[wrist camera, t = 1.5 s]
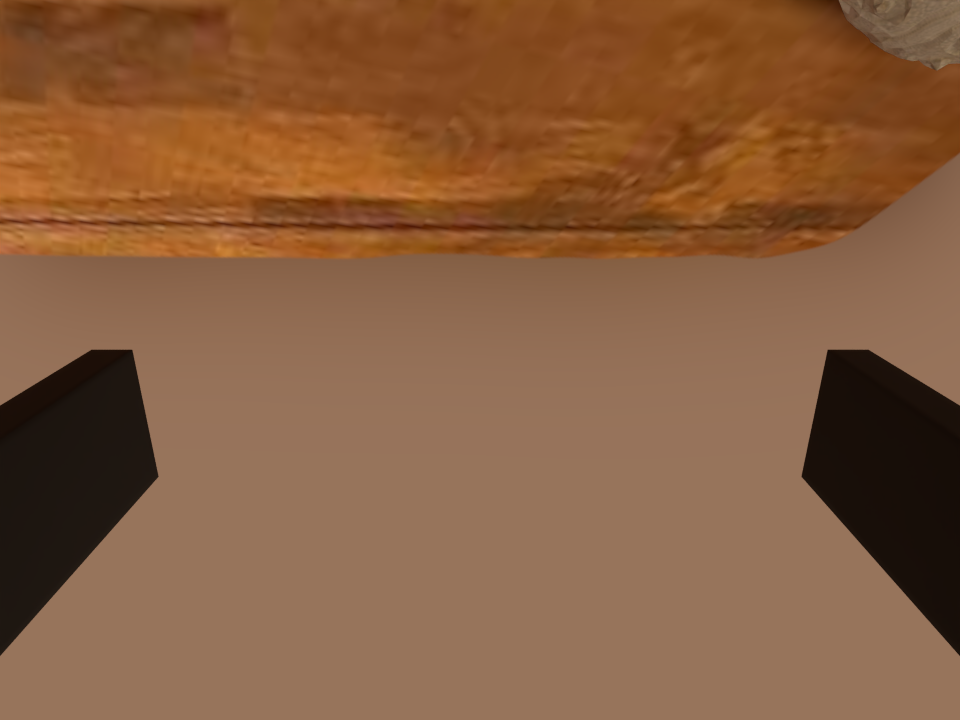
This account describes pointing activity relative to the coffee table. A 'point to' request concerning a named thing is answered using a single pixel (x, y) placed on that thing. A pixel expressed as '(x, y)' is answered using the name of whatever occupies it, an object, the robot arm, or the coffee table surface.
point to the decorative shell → (910, 28)
